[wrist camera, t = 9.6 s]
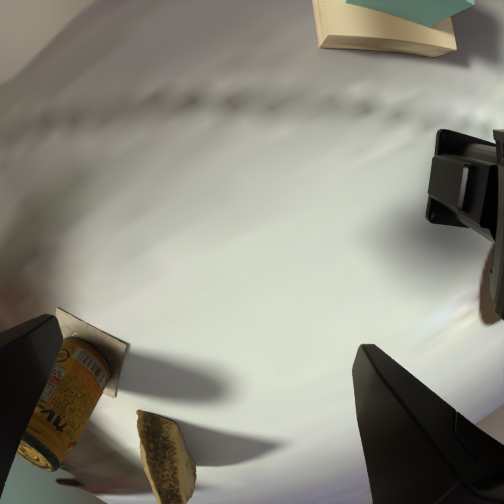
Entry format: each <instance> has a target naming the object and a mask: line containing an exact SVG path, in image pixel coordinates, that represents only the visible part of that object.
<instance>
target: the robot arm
mask: <svg viewBox="0 0 504 504" xmlns="http://www.w3.org/2000/svg"><path fill="white" fill-rule="evenodd" d="M443 133H444V134H445V136H446V137H445V139H443V138H442V135H443ZM493 136H494V140H495V141H496V144H494V143H491V142H488V141H485V140H482V139H478V138H475V137H472V136H468V135H465V134H462V133H458V132H454V131H451V130H447V129H440V130H438V132H437V135H436V145H435V155H434V157H433V158H432V166H431V174H430V181H429V188H428V194H429V198H428V204H427V210H426V219H427V220H428V221H429V222H430V223H433V224H442V225H450V226H458V227H465V228H471V229H473V230H474V231H476V232H477V233H479V234H480V235H482V236H483V237H485V238H486V239H488V240H489V241H491V242H492V243H494V244H495V246H494V258H493V265H492V270H491V271H490V277H489V280H490V282H491V286H490V293H491V296H492V299H493V302H494V303H495V309H494V310H495V312H496V313H497V314H498V315H499V316H500V317H501V318H502V320H503V321H504V130H493ZM433 213H434V214H435V215H434V217H433V218H431V215H432V214H433ZM62 345H63V335H62V331H61V328H60V325H59V321H58V319H57V317H56V316H54V315H49V314H43V315H41V316H38V317H36V318H34V319H31V320H29V321H26V322H24V323H22V324H19V325H17V326H15V327H12V328H10V329H8V330H5V331H3V332H0V498H1V495H2V492H3V489H4V486H5V482H6V480H7V477H8V474H9V471H10V468H11V466H12V463H13V461H14V458H15V455H16V453H17V450H18V448H19V445H20V443H21V440H22V438H23V436H24V433H25V431H26V429H27V426H28V424H29V422H30V419H31V417H32V415H33V413H34V411H35V408H36V406H37V404H38V402H39V400H40V398H41V396H42V393H43V391H44V389H45V387H46V385H47V383H48V381H49V378H50V376H51V373H52V370H53V368H54V365H55V363H56V360H57V358H58V355H59V353H60V350H61V348H62ZM352 376H353V386H354V395H355V405H356V415H357V422H358V427H359V432H360V437H361V442H362V446H363V451H364V456H365V461H366V467H367V472H368V477H369V483H370V488H371V494H372V500H373V504H504V445H503V444H501V443H500V442H498V441H497V440H495V439H494V438H492V437H491V436H489V435H488V434H486V433H485V432H484V431H482V430H481V429H479V428H478V427H477V426H475V425H474V424H473V423H472V422H470V421H469V420H468V419H466V418H465V417H464V416H463V415H461V414H460V413H459V412H456V410H455V409H454V408H453V407H451V406H450V405H449V404H448V403H447V402H445V401H444V400H443V399H442V398H440V397H439V396H438V395H437V394H435V393H434V392H433V391H432V390H431V389H429V388H428V387H427V386H426V385H424V384H423V383H422V382H421V381H419V380H418V379H417V378H416V377H414V376H413V375H412V374H411V373H410V372H408V371H407V370H406V369H405V368H403V367H402V366H401V365H400V364H398V363H397V362H396V361H395V360H393V359H392V358H391V357H390V356H388V355H387V354H386V353H385V352H383V351H382V350H381V349H380V348H379V347H377V346H376V345H374V344H361V345H360V346H359V348H358V351H357V354H356V357H355V361H354V364H353V368H352Z"/></svg>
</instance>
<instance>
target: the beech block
mask: <svg viewBox="0 0 504 504" xmlns="http://www.w3.org/2000/svg"><path fill="white" fill-rule="evenodd" d="M345 1H346V0H312V3H313V9H314V16H315V23H316V30H317V37H318V44H319V48H344V49H365V50H379V51H390V52H399V53H407V54H415V55H422V56H428V57H436V56H439V55H442V54H445V53H448V52H452V51H455V50H457V48H456V42H455V36H454V31H453V26H452V21H451V16H450V17H448V18H446V19H444V20H442V21H440V22H438V23H436V24H434V25H432V26H431V27H429V28H428V27H426V26H423V25H420V24H418V23H415V22H412V21H409V20H406V19H403V18H400V17H397V16H393V15H390V14H387V13H383V12H380V11H376V10H372V9H369V8H365V7H361V6H357V5H352V4H348V3H345Z"/></svg>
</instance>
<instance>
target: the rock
mask: <svg viewBox="0 0 504 504" xmlns="http://www.w3.org/2000/svg"><path fill="white" fill-rule="evenodd" d="M136 413H137V415H138V420H137V429H138V433H139V438H140V453H141V459H142V462H143V467H144V471H145V472H146V474H147V477H148V479H149V481H150V483H151V486H152V490H153V494H154V496H155V498H156V499H157V503H158V504H186V503H187V502H188V500H189V499H190V498H191V497H192V495H193V492H194V489H195V482H196V476H197V475H196V466H195V463H194V461H193V460H192V458H191V457H190V455H189V452H188V450H187V449H186V447H185V442H184V440H183V437H182V436H181V434H180V432H179V427H178V426H177V425H176V424H175V423H174V422H172V421H170V420H167V419H165V418H162V417H160V416H158V415H155V414H152V413H149V412H143V411H140V410H137V411H136Z"/></svg>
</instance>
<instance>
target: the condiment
mask: <svg viewBox="0 0 504 504" xmlns="http://www.w3.org/2000/svg"><path fill="white" fill-rule="evenodd" d="M56 317H57V319H58V321H59V325H60V328H61V331H62V335H63V345H62V348H61V350H60V353H59V355H58V358H57V360H56V363H55V365H54V368H53V370H52V373H51V376H50V378H49V381H48V383H47V385H46V387H45V389H44V391H43V393H42V396H41V398H40V400H39V402H38V404H37V406H36V408H35V411H34V413H33V415H32V417H31V419H30V422H29V424H28V426H27V429H26V431H25V433H24V436H23V438H22V440H21V443H20V445H19V448H18V450H17V453H18V454H19V455H20V456H21V457H23V458H24V459H25V460H27V461H28V462H30V463H31V464H33V465H34V466H36V467H38V468H40V469H42V470H46V471H51V472H53V471H56V470H57V469H58V468H59V466H60V464H61V461H62V460H63V459H64V458H65V455H66V452H67V451H70V450H72V449H73V448H74V447H75V445H76V443H77V441H78V440H79V438H80V435H81V433H82V431H83V429H84V427H85V425H86V423H87V421H88V419H89V417H90V416H91V414H92V412H93V410H94V408H95V406H96V405H97V402H98V400H99V399H100V397H101V395H102V393H103V394H105V395H107V396H109V397H112V398H114V396H115V392H116V387H117V383H118V379H119V374H120V369H121V365H122V361H123V357H124V352H125V349H126V345H125V344H123V343H121V342H119V341H118V340H117V339H115V338H113V337H111V336H109V335H107V334H105V333H103V332H102V331H100V330H98V329H96V328H94V327H92V326H90V325H88V324H87V323H86V322H84V321H81V320H78V319H77V318H74V317H73V316H72V315H70V314H68V313H65V312H64V311H62V310H60V309H58V308H56ZM74 333H77V334H74ZM72 334H74V335H73V336H72ZM109 359H110V360H109Z"/></svg>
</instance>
